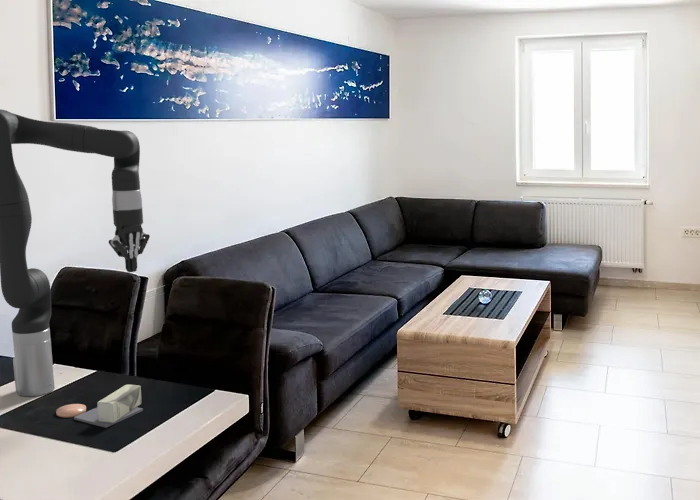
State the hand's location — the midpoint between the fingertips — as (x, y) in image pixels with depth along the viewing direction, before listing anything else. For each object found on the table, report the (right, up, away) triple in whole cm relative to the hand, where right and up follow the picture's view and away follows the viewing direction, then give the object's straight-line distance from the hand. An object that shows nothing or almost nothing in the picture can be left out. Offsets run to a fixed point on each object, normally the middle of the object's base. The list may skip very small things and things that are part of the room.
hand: (131, 271), depth 200 cm
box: (+3, -31, -10) cm, 32 cm away
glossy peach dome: (-11, -35, -13) cm, 39 cm away
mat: (-1, -35, -15) cm, 38 cm away
